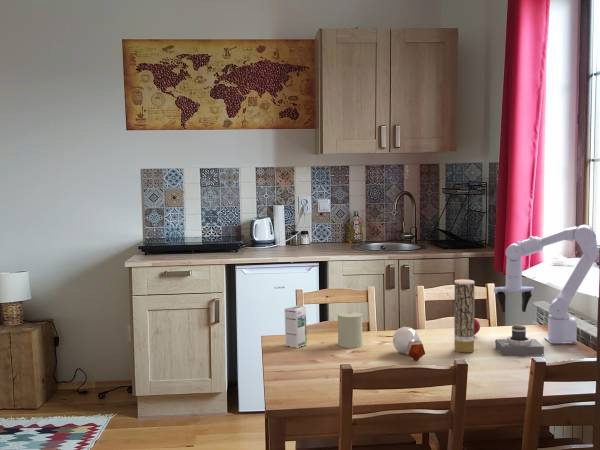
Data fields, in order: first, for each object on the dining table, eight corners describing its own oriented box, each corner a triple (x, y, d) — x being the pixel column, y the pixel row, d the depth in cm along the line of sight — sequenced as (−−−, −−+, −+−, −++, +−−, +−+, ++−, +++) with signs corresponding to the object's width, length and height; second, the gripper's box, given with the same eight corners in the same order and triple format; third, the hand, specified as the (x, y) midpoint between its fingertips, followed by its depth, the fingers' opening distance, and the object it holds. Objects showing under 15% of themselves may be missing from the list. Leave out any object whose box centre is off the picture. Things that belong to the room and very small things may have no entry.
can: (362, 341, 261) (362, 310, 259) (362, 348, 252) (362, 315, 250) (338, 341, 262) (337, 310, 260) (337, 348, 252) (336, 315, 251)
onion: (481, 338, 263) (481, 317, 262) (466, 338, 263) (466, 317, 262) (477, 334, 269) (478, 313, 268) (462, 334, 269) (463, 313, 268)
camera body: (534, 346, 249) (534, 334, 249) (543, 355, 239) (543, 342, 239) (495, 347, 250) (495, 334, 249) (502, 355, 240) (502, 342, 239)
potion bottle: (403, 352, 250) (419, 369, 236) (383, 339, 247) (398, 355, 233) (418, 331, 250) (435, 347, 235) (398, 318, 247) (414, 333, 233)
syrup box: (297, 348, 252) (297, 309, 251) (285, 346, 256) (284, 307, 254) (307, 345, 257) (306, 306, 255) (294, 342, 260) (293, 304, 259)
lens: (522, 340, 247) (523, 325, 246) (527, 344, 242) (527, 328, 242) (509, 340, 247) (509, 325, 246) (514, 344, 242) (514, 328, 242)
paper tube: (474, 353, 242) (474, 283, 240) (454, 353, 243) (454, 282, 241) (473, 348, 249) (474, 279, 246) (454, 347, 250) (454, 279, 248)
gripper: (530, 273, 265) (529, 308, 266) (491, 274, 265) (491, 309, 266) (535, 277, 258) (535, 313, 259) (496, 277, 258) (496, 313, 259)
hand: (513, 311), depth 262 cm, fingers open, 7 cm apart
